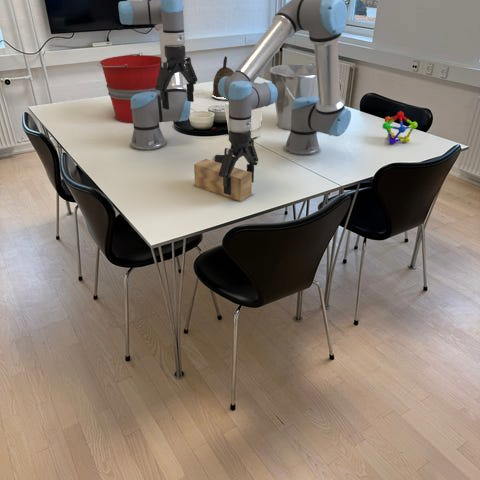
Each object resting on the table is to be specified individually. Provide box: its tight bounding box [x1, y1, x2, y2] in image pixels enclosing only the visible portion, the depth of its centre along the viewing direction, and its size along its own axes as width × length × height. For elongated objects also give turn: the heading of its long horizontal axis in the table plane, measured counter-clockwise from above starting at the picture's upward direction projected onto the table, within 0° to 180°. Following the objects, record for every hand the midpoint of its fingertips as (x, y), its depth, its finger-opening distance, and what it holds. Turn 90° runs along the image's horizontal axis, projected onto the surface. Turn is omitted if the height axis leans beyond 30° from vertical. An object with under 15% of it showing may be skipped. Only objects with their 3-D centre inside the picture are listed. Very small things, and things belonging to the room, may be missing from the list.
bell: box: [212, 56, 235, 97], centre depth 278 cm, size 19×26×20 cm
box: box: [193, 158, 253, 202], centre depth 164 cm, size 22×7×9 cm, turn 53°
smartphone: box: [213, 154, 224, 163], centre depth 188 cm, size 7×1×15 cm
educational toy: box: [382, 110, 418, 145], centre depth 207 cm, size 16×13×15 cm
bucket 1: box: [96, 52, 164, 124], centre depth 238 cm, size 35×35×30 cm
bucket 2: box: [269, 63, 319, 131], centre depth 226 cm, size 30×30×28 cm
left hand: (178, 105), depth 170 cm, fingers open, 13 cm apart
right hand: (239, 187), depth 160 cm, fingers open, 13 cm apart
